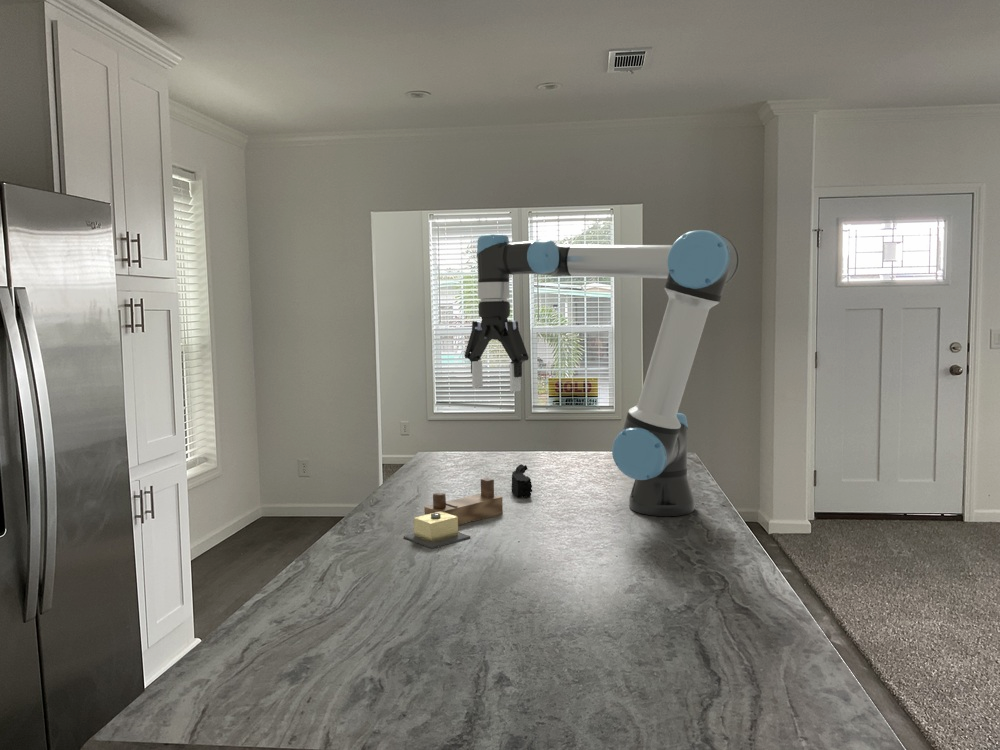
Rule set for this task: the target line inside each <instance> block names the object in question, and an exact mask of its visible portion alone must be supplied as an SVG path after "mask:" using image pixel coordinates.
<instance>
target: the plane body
mask: <svg viewBox="0 0 1000 750" xmlns="http://www.w3.org/2000/svg"><path fill="white" fill-rule="evenodd" d="M446 497H447V495H446V492H435V493H433V494H432V504H430V505H426V506H424V510H423V511H424V512H423V513H424V515H427V514H431V513H436V512H440V511H441V512H444V513H447V514H451V515H454V516H457V517H458V526H460V524H461V525H464V524H463V523H465V524H467V522H469V523H472V522H471V521H473V522H476V521H475V520H477V521H479V519H480V520H484V519H488V518H492V517H495V516H498V515H499V516H500V515H503V513H504V512H503V511H504V509H503V505H504V504H503V496H501V495H496V494H495V480H494V478H489V477H486V478H480V493H477V494H473V495H469V496H464V497H459V498H456V499H451V500H447V499H446ZM487 517H488V518H487ZM483 518H484V519H483Z"/></svg>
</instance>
